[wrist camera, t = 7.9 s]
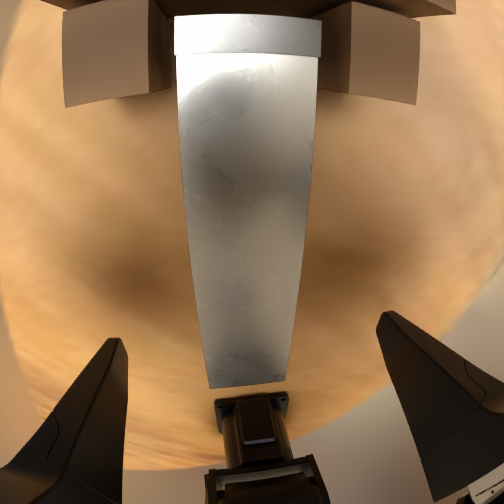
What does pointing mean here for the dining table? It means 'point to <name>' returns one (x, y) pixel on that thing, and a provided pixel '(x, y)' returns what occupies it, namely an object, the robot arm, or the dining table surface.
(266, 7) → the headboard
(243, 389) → the dining table surface
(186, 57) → the rail
